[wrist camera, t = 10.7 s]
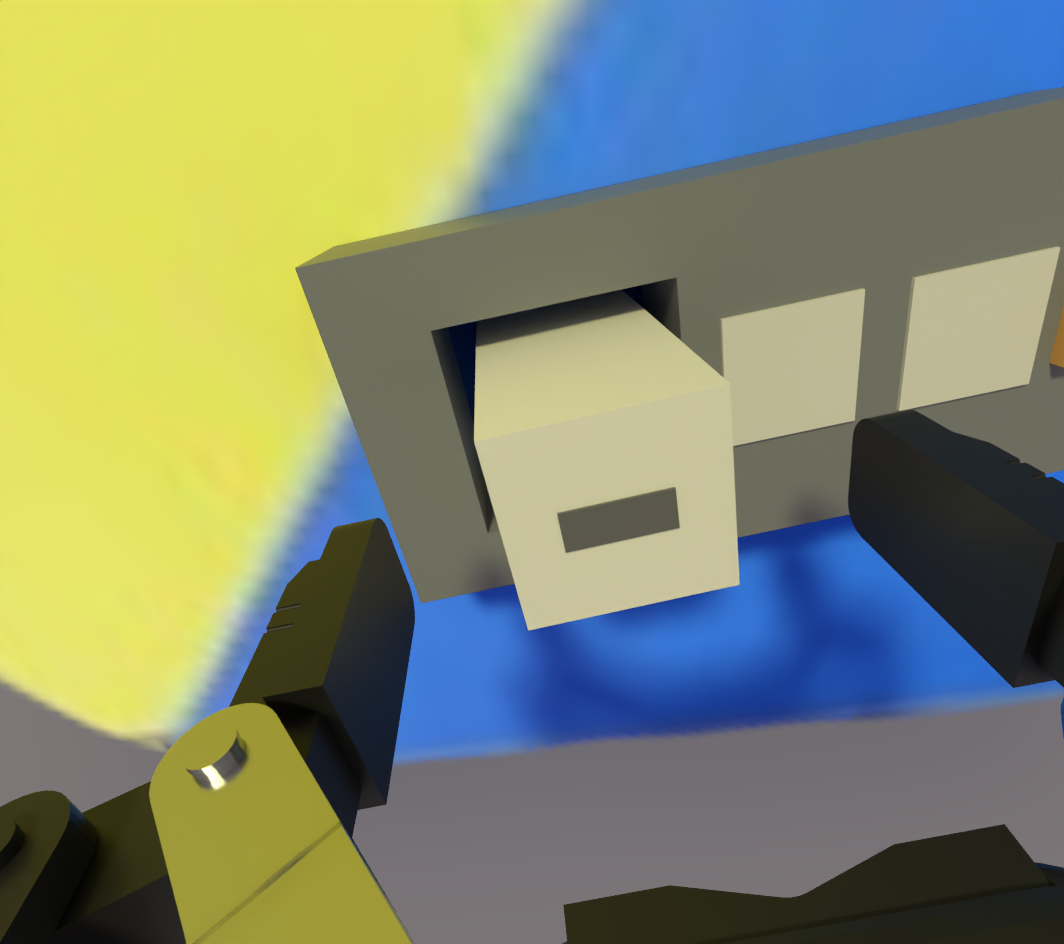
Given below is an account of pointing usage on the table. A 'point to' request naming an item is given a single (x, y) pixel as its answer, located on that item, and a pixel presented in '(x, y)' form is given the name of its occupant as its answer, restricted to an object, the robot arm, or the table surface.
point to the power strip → (734, 312)
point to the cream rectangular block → (604, 458)
